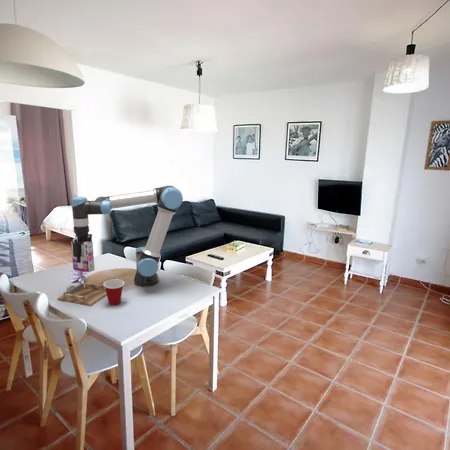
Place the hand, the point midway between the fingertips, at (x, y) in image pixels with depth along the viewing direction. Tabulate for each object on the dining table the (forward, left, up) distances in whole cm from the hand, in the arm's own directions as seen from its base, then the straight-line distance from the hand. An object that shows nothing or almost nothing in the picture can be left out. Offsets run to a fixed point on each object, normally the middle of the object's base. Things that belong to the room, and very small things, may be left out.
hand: (84, 266), depth 177 cm
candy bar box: (0, 0, -2) cm, 3 cm away
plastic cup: (-20, +2, -19) cm, 27 cm away
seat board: (+1, 0, -18) cm, 18 cm away
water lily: (+20, -17, -19) cm, 33 cm away
